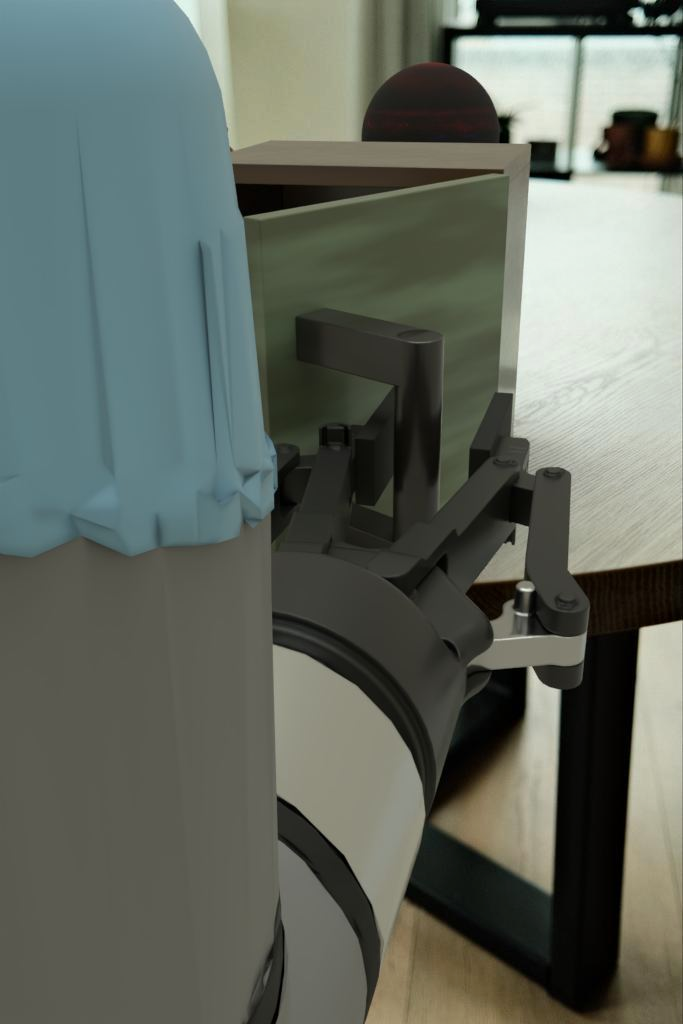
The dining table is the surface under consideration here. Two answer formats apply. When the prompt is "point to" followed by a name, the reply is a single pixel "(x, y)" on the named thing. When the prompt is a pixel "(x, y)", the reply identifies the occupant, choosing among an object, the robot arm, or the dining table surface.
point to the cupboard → (388, 167)
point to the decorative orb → (431, 108)
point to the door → (384, 331)
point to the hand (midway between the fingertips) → (451, 419)
